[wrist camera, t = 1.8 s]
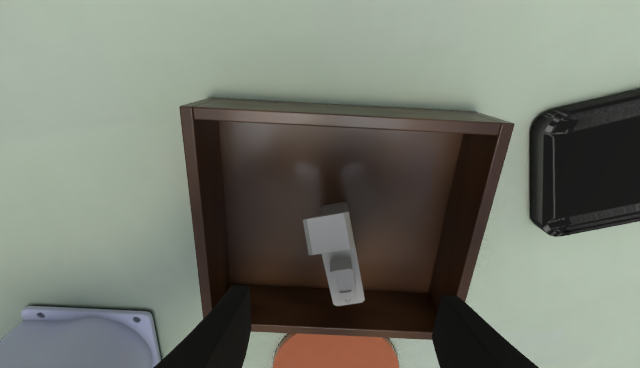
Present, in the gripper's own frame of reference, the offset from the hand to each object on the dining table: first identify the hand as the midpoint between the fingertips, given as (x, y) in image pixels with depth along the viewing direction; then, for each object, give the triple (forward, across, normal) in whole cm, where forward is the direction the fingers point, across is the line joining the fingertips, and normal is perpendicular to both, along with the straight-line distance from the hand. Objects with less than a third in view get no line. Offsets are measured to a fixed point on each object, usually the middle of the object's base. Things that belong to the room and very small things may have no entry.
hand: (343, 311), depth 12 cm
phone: (+9, -19, -5) cm, 22 cm away
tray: (+9, 0, 0) cm, 9 cm away
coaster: (+9, -1, +14) cm, 17 cm away
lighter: (+9, 0, 0) cm, 9 cm away
